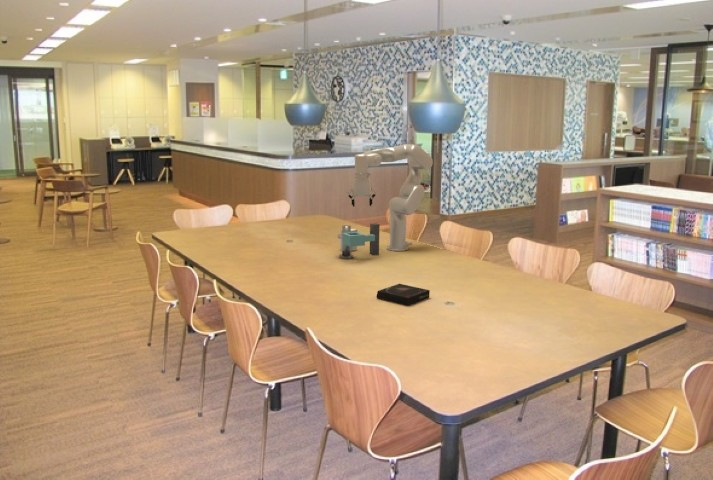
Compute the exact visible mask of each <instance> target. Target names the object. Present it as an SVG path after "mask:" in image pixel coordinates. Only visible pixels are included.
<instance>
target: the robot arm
mask: <svg viewBox="0 0 713 480" xmlns="http://www.w3.org/2000/svg"><path fill="white" fill-rule="evenodd" d="M407 159H408V160H407ZM403 160H407V164H408V169H409V174H408V175H407V177H406V179H405V181H404V183H403V184H402V185H401V187H400V189H399V194H400V196H395V197H393V198H391V199H390V200H389V203H388V209H389V214H390V217H389V218H390V220H389V221H390V222H389V224H390V225H389V245H388V246H387V247H386V249H387V250H388V251H393V252H405V250H406V251H408V249H409V247H408V246H413V242H412V241H411V242H410V241H407V240H406V239H407V237H406V236H407V235H406V233H407V217H406V216H411V215H413V214H414V213H415V212H416V211H417V208H419V205H420V204H421V203H422V200H423V199H424V196H425V193H426V192H425V187H424V186H423V185H422V183H421V182H422V181H423V173H422V170H429V169H431V168H432V166H433V164H434V163H433V162H434V160H433V158H432V157H431V155H430V154H429V153H428V152H426V151H425V150H424V149H423V148H422V147H420V146H419V145H418V144H414V143H413V144H411V143H410V144H409V143H403V144H400V145H394V146H391V147H384V148H378V149H373V150H372V149H371V150H368V151H364V152H362V153H357V154H355V155H354V178H353V181H352V188H351V189H349V190H347V191H346V195H347V196H348V198H349V199H350V200H351V206H352V207H355V198H356V197H369V199H368V200H369V201H368V202H369V206H370V207H372V205H373V199H374V198H375V197H376V195H377V193H378V191H377V190H376V189H374V188H371V180H370V177H371V175H372V174H371V173H369V167H378V166H380V165H381V164H382V163H394V162H397V161H403ZM350 193H352V195H351V194H350ZM372 193H373V194H372Z"/></svg>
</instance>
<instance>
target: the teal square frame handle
mask: <svg viewBox="0 0 713 480" xmlns="http://www.w3.org/2000/svg"><path fill="white" fill-rule="evenodd" d="M370 241H375V235H373V234H370V233H369V234H365V233H361V232H358V231H357V232H350V233H342V244H344V245H347V246H349V247H354V246H357V247H362V246H366V242H367V243H368V242H370Z"/></svg>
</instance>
